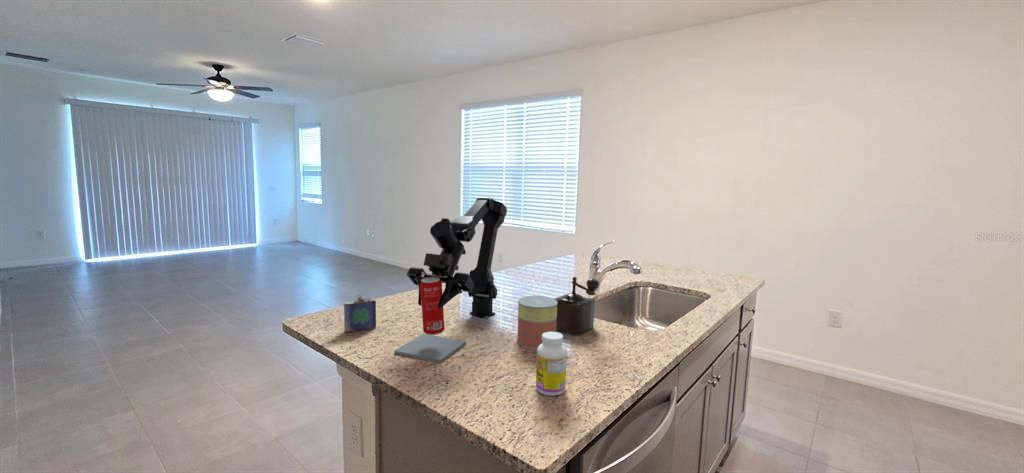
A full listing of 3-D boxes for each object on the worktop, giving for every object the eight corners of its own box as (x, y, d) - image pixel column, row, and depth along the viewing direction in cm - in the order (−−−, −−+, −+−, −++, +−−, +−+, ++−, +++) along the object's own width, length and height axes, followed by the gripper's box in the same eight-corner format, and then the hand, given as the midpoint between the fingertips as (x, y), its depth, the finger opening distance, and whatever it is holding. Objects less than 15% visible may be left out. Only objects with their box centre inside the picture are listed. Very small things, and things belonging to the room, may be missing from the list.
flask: (345, 333, 131) (344, 298, 130) (343, 330, 134) (342, 295, 132) (377, 329, 136) (376, 294, 135) (374, 326, 138) (374, 292, 137)
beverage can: (448, 330, 123) (448, 277, 120) (433, 338, 117) (432, 282, 115) (432, 326, 126) (431, 274, 123) (416, 333, 120) (415, 279, 118)
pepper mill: (547, 329, 140) (550, 272, 137) (566, 320, 148) (568, 267, 146) (592, 341, 130) (595, 281, 128) (609, 331, 139) (612, 274, 136)
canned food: (564, 341, 129) (565, 301, 128) (539, 352, 121) (540, 309, 119) (534, 331, 137) (535, 293, 135) (509, 341, 129) (510, 300, 127)
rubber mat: (423, 336, 131) (423, 333, 131) (466, 343, 126) (466, 341, 126) (394, 353, 118) (394, 350, 118) (440, 362, 113) (440, 359, 113)
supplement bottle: (533, 383, 103) (535, 329, 102) (562, 382, 104) (564, 329, 102) (537, 397, 97) (539, 340, 95) (568, 396, 97) (570, 340, 96)
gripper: (409, 239, 125) (386, 286, 116) (469, 244, 118) (449, 295, 110) (425, 261, 133) (404, 307, 125) (482, 267, 127) (464, 316, 118)
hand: (429, 306), depth 119 cm, fingers closed on beverage can, 6 cm apart
